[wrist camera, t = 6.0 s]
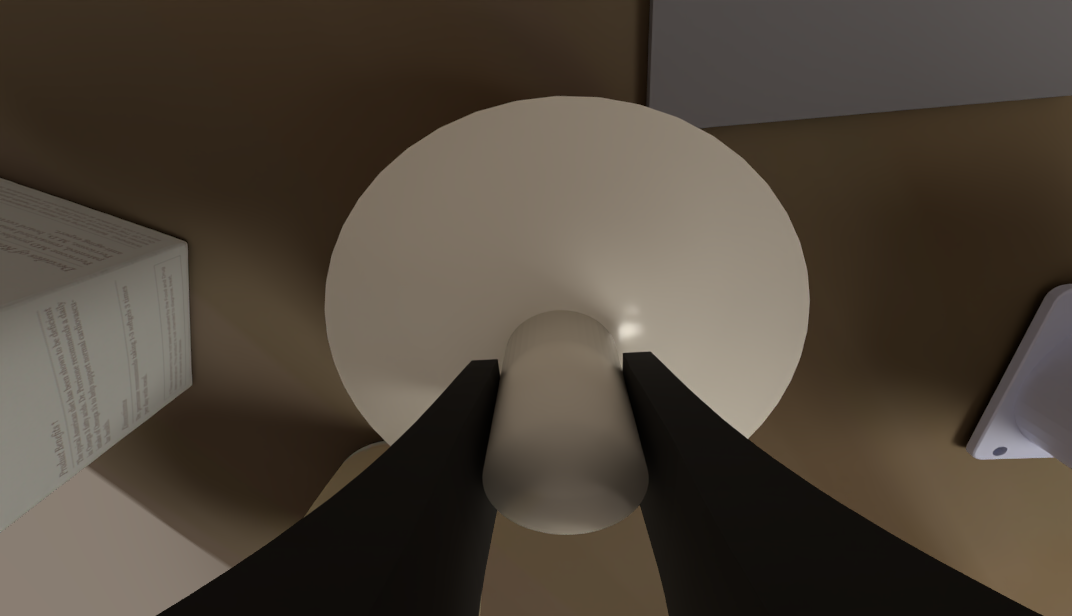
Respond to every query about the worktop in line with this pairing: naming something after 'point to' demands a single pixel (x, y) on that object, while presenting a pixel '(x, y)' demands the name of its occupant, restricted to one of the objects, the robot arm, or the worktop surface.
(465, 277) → the lid
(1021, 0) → the mat
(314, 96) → the worktop surface
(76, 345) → the supplement box
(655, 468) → the robot arm
